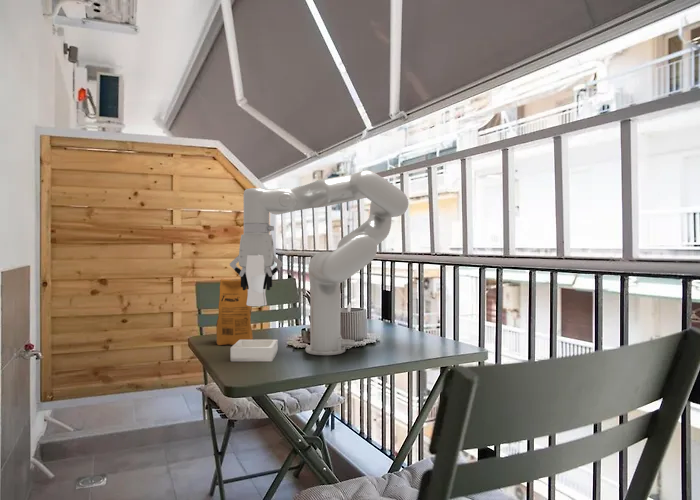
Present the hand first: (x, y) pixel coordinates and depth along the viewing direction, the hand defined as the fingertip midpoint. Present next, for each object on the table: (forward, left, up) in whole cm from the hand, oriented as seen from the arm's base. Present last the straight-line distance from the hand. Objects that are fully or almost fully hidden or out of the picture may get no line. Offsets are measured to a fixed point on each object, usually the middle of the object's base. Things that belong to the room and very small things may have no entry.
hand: (256, 289), depth 148 cm
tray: (+1, -1, -21) cm, 21 cm away
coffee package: (+12, -22, -21) cm, 33 cm away
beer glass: (0, 0, -5) cm, 5 cm away
